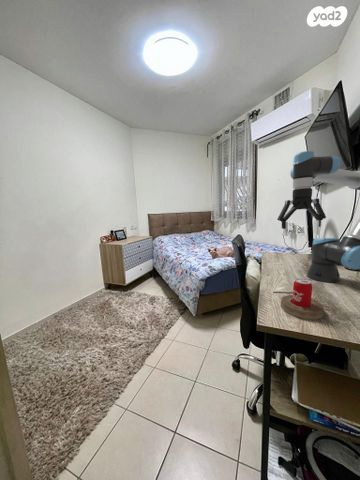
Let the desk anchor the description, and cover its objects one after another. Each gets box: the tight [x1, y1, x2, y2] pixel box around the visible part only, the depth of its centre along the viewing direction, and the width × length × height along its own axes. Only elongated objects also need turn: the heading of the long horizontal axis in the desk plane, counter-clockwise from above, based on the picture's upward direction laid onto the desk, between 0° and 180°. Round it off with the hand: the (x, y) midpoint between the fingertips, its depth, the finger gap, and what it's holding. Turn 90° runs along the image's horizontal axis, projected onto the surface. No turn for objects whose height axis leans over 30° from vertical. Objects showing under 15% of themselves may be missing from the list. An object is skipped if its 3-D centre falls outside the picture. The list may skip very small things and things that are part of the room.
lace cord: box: [272, 289, 293, 294], centre depth 92 cm, size 12×1×1 cm, turn 83°
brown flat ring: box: [280, 294, 325, 320], centre depth 76 cm, size 14×14×3 cm
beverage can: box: [292, 278, 313, 308], centre depth 75 cm, size 6×6×12 cm
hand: (300, 235), depth 90 cm, fingers open, 13 cm apart
